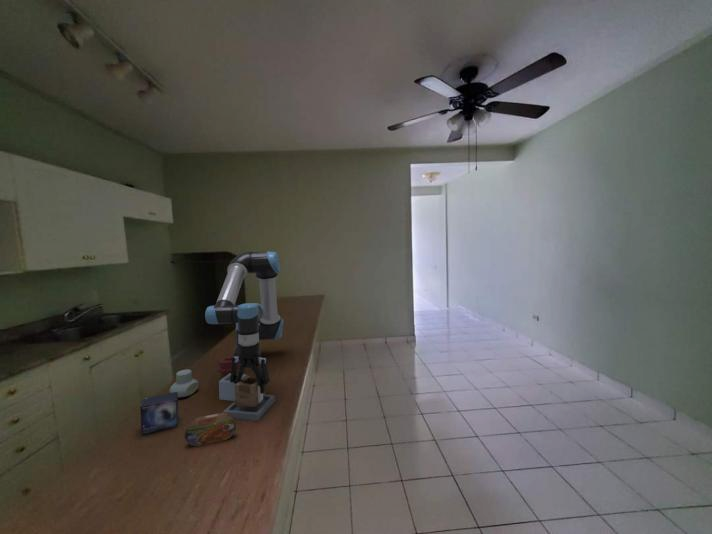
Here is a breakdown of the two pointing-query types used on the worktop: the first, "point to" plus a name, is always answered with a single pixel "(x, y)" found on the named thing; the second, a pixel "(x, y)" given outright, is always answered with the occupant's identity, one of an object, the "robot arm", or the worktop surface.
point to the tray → (251, 409)
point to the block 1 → (227, 388)
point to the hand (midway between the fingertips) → (250, 399)
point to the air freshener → (184, 384)
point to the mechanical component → (225, 366)
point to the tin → (210, 429)
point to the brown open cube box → (247, 392)
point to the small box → (159, 413)
